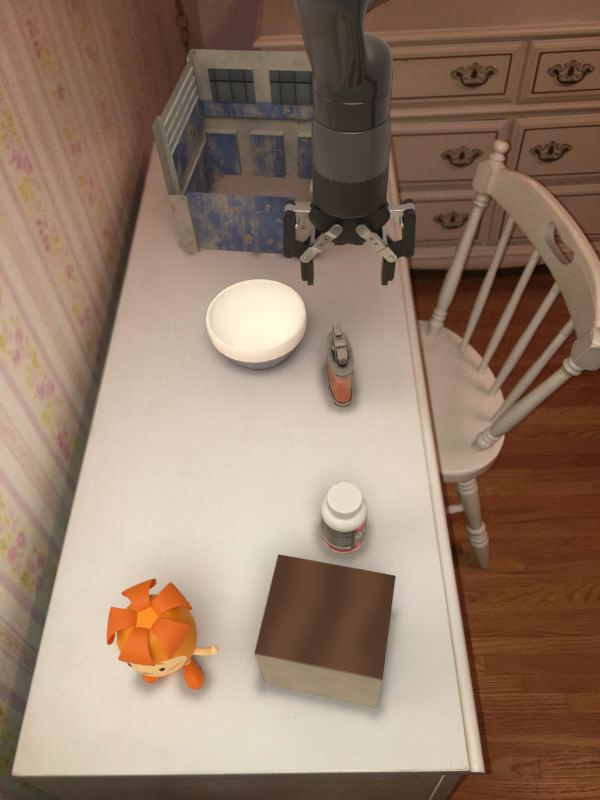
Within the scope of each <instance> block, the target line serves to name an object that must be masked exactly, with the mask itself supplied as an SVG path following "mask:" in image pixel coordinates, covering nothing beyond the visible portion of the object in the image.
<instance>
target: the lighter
mask: <svg viewBox="0 0 600 800" xmlns="http://www.w3.org/2000/svg"><path fill="white" fill-rule="evenodd" d="M349 340H350V339H348V336H347V335H346V333H345V332H344V331H343V330H342V327H341V324H340V323H338V322H335V323H333V324H331V331H328V333H327V334H326V342H325V343H326V344H325V345H326V346H325V347H326V348H325V349H326V357H327V365H326V384H327V389H328V392H329V396H330V398H331V400H332V402H333V404H334V406H335V407H337V408H340V409H341V408H342V409H346V408H348V407H349V406H351V405H352V403H353V385H352V380H353V379H352V377H353V375H354V354H353V349H352V346H351V343H350V341H349Z"/></svg>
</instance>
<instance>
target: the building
mask: <svg viewBox="0 0 600 800" xmlns="http://www.w3.org/2000/svg"><path fill="white" fill-rule="evenodd" d="M185 60H186V64H185V67H184V68H183V70H182V72H181V75H180V76H179V78H178V80H177V83H176V84H175V86H174V88H173V90H172V93H171V95H170V97H169V98H168V101H167V102H166V105H165V106H164V108H163V110H162V112H161V115H156V116H155V119H154V121H153V123H152V125H151V130H152V134H153V138H154V143H155V146H156V151H157V155H158V159H159V163H160V167H161V170H162V174H163V179H164V182H165V187H166V191H167V196H168V199H169V203H170V207H171V210H172V211H171V212H172V215H173V219H174V223H175V227H176V231H177V235H178V239H179V244H180V248H181V251H182V252H188V253H199V252H200V250H213V251H214V250H215V251H228V252H230V251H231V252H243V253H244V252H245V253H260V254H261V253H262V254H274V255H283V216H284V205H285V202H286V201H287V200H293V201H295V203H296V205H297V206H310V204H311V203H312V201H313V187H312V154H311V130H312V121H313V93H312V68H311V65H310V61H309V58H308V55H307V52H306V51H283V50H243V49H242V50H241V49H207V48H206V49H204V48H203V49H201V48H199V49H198V48H190V49H189V51H188V53H187V55H186V59H185ZM242 172H254V176H255V177H261V178H263V177H265V178H279V179H280V178H284V179H285V178H286V176H287V174H292V175H293V174H294V175H299V179H300V180H301V179H302V180H310V185H309V189H308V197H309V200H308V201H296V197H291V196H289V197H288V196H271V195H254V194H253V195H251V194H233V193H215V192H211V190H212V187H213V185H214V181H215V180H214V175H220V176H221V175H223V176H241V175H242ZM313 226H314V225H313V224H312V223H311V222H310V220H309V219H305V220H304V221H303V223H302V225H301V226H299V228H297V229H296V228H295V240H298V241H301V242H302V241H303V240H304V239H305V238H306V236H307V235H308V234H309V233H310V232H311V229H312V227H313ZM316 256H317V254H316V255H315V256H314V257H313V259H314V261H315V260H316Z"/></svg>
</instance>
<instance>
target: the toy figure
mask: <svg viewBox="0 0 600 800" xmlns="http://www.w3.org/2000/svg"><path fill="white" fill-rule="evenodd" d="M156 585H157V579H156V578H151V579H147V580H145V581H142V582H140V583H137V584H135V585H132V586H131V587H128V588H126V589H124V590H123V591H121V592H120V593H121V595H122V596H123V597H125V598H127V599H128V600H129V602H130V604H129V605H128V606H126V608H122V607H115V606H110V608H109V610H108V611H109V612H108V618H107V627H106V644H107V646H110V645H112V644H113V643H114V647H115V649H117V650H119V655H118V658H117V659H118V661H121V662H123V663H126V664H127V665H128V667H130V668H131V669H133V670H134V671H135V672H137V673H139V674H141V677H142V680H143V681H144V682H145V683H147V684H153V683H155V682H156V681H158V680H159V679H160V678H161V677H162V678H163V677H168V676H170V675H173V674H175V673H177V672H179V671H181V670H182V671H183V677H184V682H185V684H186V685H187V687H188V688H189V689H191V690H195V691H196V690H198V689H201V688H202V686H203V685H204V683H205V675H204V673H203V671H202V669H201V667H200V666H199V665H198V663H197V662H196V661H195V659H194V657H193V656H204V657H205V656H206V657H207V656H214V655H215V654H217V653H218V652H219V647H218V646H217V645H214V644H213V645H211V646H205V647H199V646H197V643H198V629H197V624H196V621H195V619H194V617H193V615H192V613H191V612H190V611H193V607H192V605H191V604H190V602H189V601H188V599H187V598H186V596H184V594H183V593H182V592H181V591H180V589H179V588H178V587H177V586H176V585H175V584H174V583H173V582H171V581H169V582H168V583H167V584H166V585H165V586H164V587H163V588H162V590H161V591H159V593H152V594H150V590H152V589H153V588H154V587H156ZM115 639H116V640H115ZM114 641H115V642H114ZM192 657H193V658H192Z"/></svg>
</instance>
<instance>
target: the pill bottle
mask: <svg viewBox="0 0 600 800" xmlns="http://www.w3.org/2000/svg"><path fill="white" fill-rule="evenodd" d="M367 505H368V504H367V502H366V500H365V497H363V493H362V491H361V489H360V488H359V487H358V486H357V485H356V484H354V483H352V482H347V481H341V482H338V483H335V484H333V485H332V486H331V487H330V488H329V490H328V491H327V493H326V495H325V496H324V497H323V499H322V502H321V505H320V527H321V537H322V541H323V542H324V545H325V546H326V547H327V548H328V549H329V550H331V551H332V552H334V553H336V554H343V555H346V554H351V553H353V552H356V551H358V549H360V547H361V546H362V545H363V543H364V542H365V538H366V529H367V518H368V506H367Z"/></svg>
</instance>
